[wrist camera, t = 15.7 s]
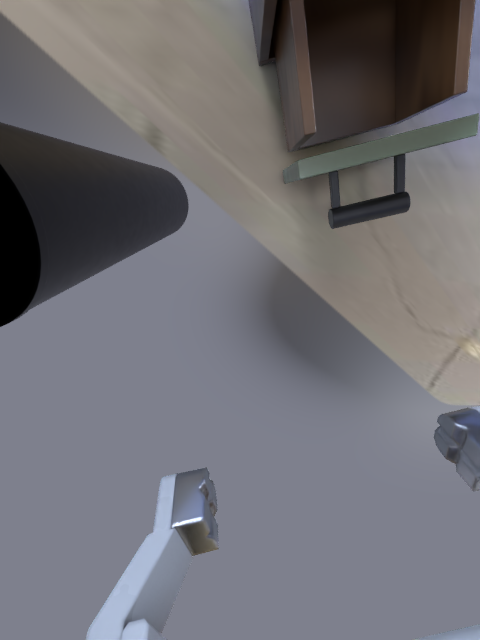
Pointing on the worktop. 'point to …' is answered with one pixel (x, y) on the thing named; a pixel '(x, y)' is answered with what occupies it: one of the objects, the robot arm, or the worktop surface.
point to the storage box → (263, 28)
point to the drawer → (369, 85)
